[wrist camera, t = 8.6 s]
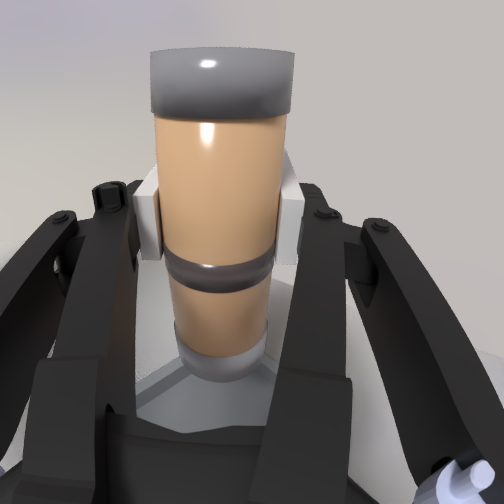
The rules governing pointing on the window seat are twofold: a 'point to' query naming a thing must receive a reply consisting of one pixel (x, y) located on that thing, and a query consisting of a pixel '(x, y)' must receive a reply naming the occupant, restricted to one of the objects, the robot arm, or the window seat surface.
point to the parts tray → (205, 398)
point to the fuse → (220, 197)
